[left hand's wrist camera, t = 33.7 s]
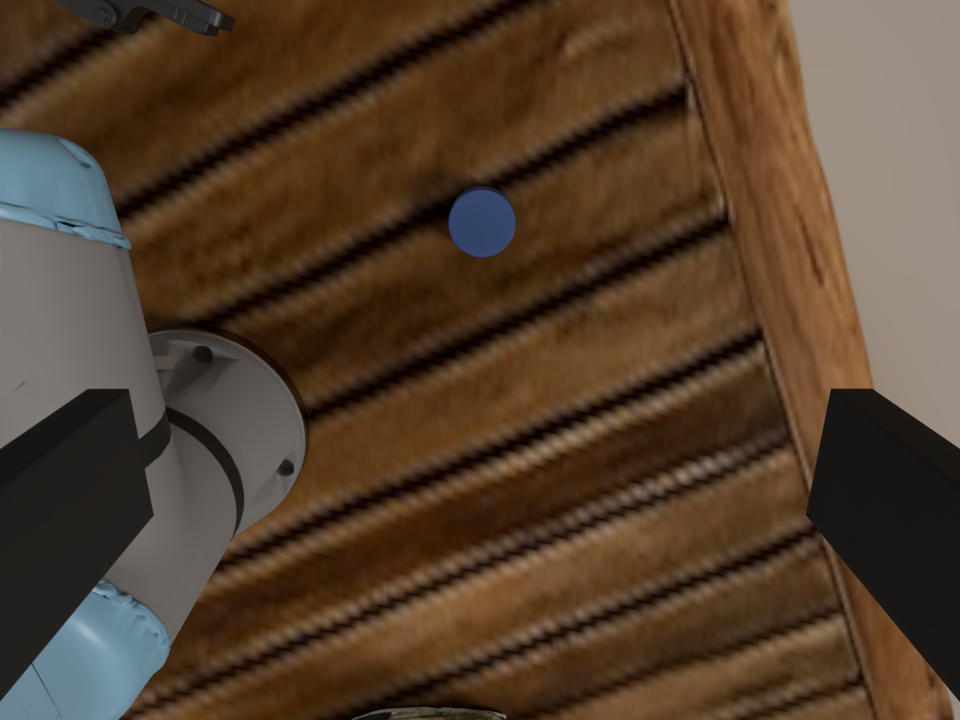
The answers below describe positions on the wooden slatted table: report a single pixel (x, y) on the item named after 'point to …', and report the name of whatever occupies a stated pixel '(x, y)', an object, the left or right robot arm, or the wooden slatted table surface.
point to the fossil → (431, 714)
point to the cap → (481, 221)
